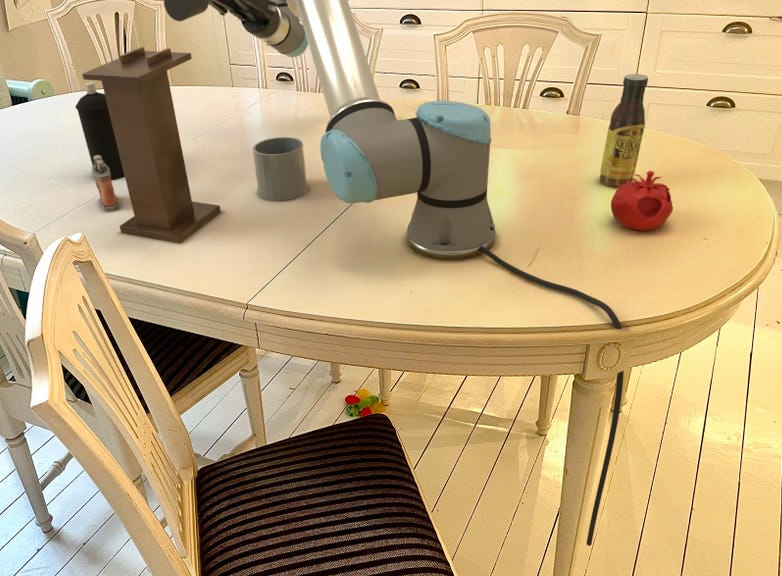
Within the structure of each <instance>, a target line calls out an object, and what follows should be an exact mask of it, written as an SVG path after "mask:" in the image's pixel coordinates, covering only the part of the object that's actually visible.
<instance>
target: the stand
mask: <svg viewBox="0 0 782 576" xmlns="http://www.w3.org/2000/svg"><path fill="white" fill-rule="evenodd" d="M118 56H119V58H116V59H114V60H111V61H109V62H106V63H104V64H102V65H99V66H97V67H94V68H93V69H89V70H87V71H85V72H83V73H82V74H81V75H82V79H83V80H85V81H97V82H98V81H100V82H101V84H102V89H103V94H105V97H106V102H107V106H108V110H109V114H110V118H111V122H112V126H113V130H114V134H115V138H116V142H117V147H118V151H119V155H120V159H121V163H122V167H123V171H124V175H125V176H124V179H125V183H126V187H127V191H128V195H129V200H130V203H131V208H132V212H133V215H134V216H132V217H131V218H129V219H128V220H126V221H124V222H123V223H122V224H120V225H119V231H120V233H121V234H124V235H129V236H136V237H140V238H147V239H152V240H153V239H154V240H158V241H164V242H170V243H177V244H181V243H183V242H184V241H185V240H187V239H188V238H189V237H191V236H192V235H193V234H195V233H196V232H197V231H198V230H200V229H201V228H202V227H203V226H205V225H207V223H208V222H210V221H211V220H213V219H214V218H215V217H217V216H218V215H219V214H221V212H222V211H221V207H220V205H219V204H212V203H207V202H206V203H205V202H200V201H193V200H192V195H191V189H190V183H189V179H188V173H187V169H186V164H185V158H184V153H183V147H182V142H181V138H180V132H179V126H178V121H177V115H176V110H175V105H174V100H173V96H172V95H173V94H172V91H171V85H170V81H169V74H168V71H169V70H171V69H174V68H175V67H178V66H179V65H182V64H185V63H186V62H189V61H190V60H192V59H193V58H192V53H191V52H177V51H176V52H175V51H173V52H172V51H171V48H170V47H166V48H164V49H161V50H159V51H156V50H155V51H152V50H146V49H145V47H144V46H140V47H137V48H134V49H132V50H129V51H127V52H125V53H123V54H120V55H118Z"/></svg>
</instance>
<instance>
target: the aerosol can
mask: <svg viewBox="0 0 782 576" xmlns="http://www.w3.org/2000/svg"><path fill="white" fill-rule="evenodd" d="M84 87H85V89H86V94H84V95H83V96H81V97H80V98H79V99H78V101H77V103H76V104H75V106H74V107H75V109H76V110H77V113H78V117H79V121H80V125H81V128H82V132H83V135H84V139H85V144H86V147H87V151H88V155H89V158H90V162H91V165H92V166H93V165H95V164H94V156H96V155H100V156H101V157H102V160H103V161H104V164H106V165H107V166H108V167H109V170H110V174H111V176H110V178H111V181H112V180H117V179H120V178H123V177H125V175H124V171H123V167H122V163H121V159H120V155H119V151H118V147H117V142H116V138H115V134H114V130H113V126H112V122H111V118H110V114H109V110H108V106H107V102H106V97H105V93H104V92H103V93H102V92H98V91H97V89H96V84H95V82H93V81H91V82H86V83H84ZM92 166H91V167H92Z"/></svg>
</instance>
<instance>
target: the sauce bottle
mask: <svg viewBox="0 0 782 576" xmlns="http://www.w3.org/2000/svg"><path fill="white" fill-rule="evenodd" d="M648 82H649V77H648V75H645V74H640V73H629V74H626V75H625V76H624V77H623V81H622V84H623V88H622V93H621V97H620V102H619V103H617V105H616V107H615V108H614V110H613V111H612V113H611V115H610V121H609V126H608V128H607V133H606V139H605V144H604V149H603V155H602V160H601V164H600V165H601V166H600V171H599V172H600V174H599V181H600V182H601V183H602V184H603V185H605V186H610V187H615V188H616V187H617V188H618V187H619V186H621V185H623V184H626V183H632V182H633V180H630V181H626V180H628V179H631V178H634V176H635V174H636V168H637V164H638V159H639V154H640V151H641V145H642V140H643V135H644V131H645V127H646V112H645V107H644V97H645V92H646V91H645V90H646V87H647V86H648Z"/></svg>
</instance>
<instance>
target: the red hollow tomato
mask: <svg viewBox="0 0 782 576" xmlns="http://www.w3.org/2000/svg"><path fill="white" fill-rule="evenodd" d="M634 176H636V177H639V179H640V181H639V180H637V179H635V178H634V177H633V178H631V179H628V180H626V181H630V180H632V182H631V183H626V184H623V185H621V186H619V187H617V188H616V190H615V192H614V193H613V196H612V198H611V200H610V209H611V210H610V211H611V213H612V215H613V218H614V219H615V220H616V221H617V222H618V223H620V224H621V225H623V226H624V227H626V228H628V229H631V230H636V231H651V230H654V229H656V228H659V227H661V226H663V225H664V224H666V221H667V220H668V218H669V217H670V216H671V215H672V213H673V210H674V206H673V201H672V196H671V195H672V194H671V193H670V190H671V188H669V186H667V184H664V183H661V182H659V183H658V182H657V183H656V180H659V179H661V178H662V175H661V176H655V171H653V170H648V171H647V172H646V179H644V178H643V177H641V175H640V174H636V173H634ZM654 176H655V177H654Z"/></svg>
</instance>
